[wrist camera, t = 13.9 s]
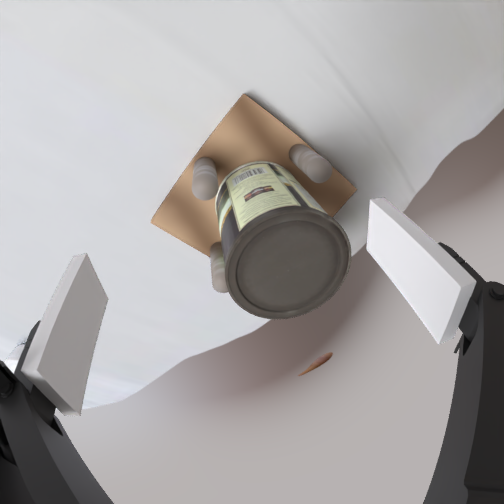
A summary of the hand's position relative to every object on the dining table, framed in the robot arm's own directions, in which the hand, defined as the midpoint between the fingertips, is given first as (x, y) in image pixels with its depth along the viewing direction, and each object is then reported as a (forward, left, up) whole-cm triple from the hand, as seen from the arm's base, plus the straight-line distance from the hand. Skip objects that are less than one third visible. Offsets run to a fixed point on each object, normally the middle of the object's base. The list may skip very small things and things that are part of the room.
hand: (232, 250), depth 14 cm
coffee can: (+2, +8, -22) cm, 23 cm away
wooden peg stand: (+2, +8, -23) cm, 24 cm away
